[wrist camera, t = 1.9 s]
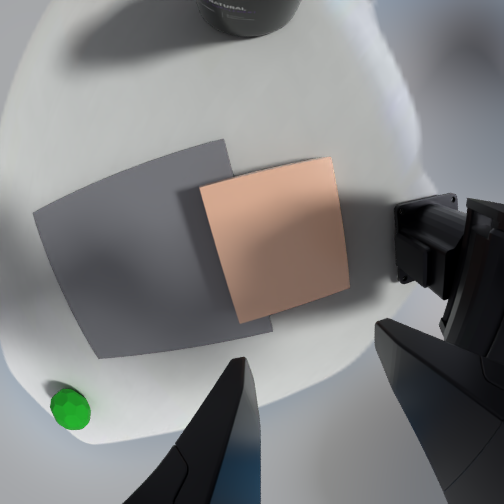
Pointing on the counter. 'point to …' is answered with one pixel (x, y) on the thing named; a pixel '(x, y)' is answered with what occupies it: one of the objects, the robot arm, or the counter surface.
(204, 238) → the mat
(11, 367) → the counter surface
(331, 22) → the counter surface
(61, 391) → the polyhedron
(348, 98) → the counter surface
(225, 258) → the tile
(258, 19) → the supplement bottle
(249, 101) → the counter surface
